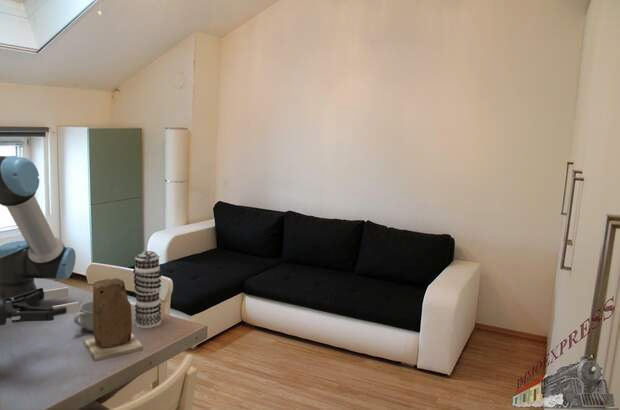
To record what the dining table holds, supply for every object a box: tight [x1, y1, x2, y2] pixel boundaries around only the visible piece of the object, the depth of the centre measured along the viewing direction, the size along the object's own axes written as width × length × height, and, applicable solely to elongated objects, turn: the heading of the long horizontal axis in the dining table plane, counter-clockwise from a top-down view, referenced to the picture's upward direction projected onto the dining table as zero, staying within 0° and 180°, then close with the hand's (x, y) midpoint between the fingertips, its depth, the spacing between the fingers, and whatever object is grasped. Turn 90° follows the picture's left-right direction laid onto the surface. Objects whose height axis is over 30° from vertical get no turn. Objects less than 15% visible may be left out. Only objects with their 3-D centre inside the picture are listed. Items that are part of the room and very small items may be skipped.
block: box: [92, 277, 133, 348], centre depth 159 cm, size 11×8×20 cm
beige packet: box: [83, 332, 144, 362], centre depth 161 cm, size 14×14×1 cm
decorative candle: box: [132, 250, 163, 329], centre depth 177 cm, size 9×9×25 cm
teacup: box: [73, 300, 93, 332], centre depth 172 cm, size 14×11×8 cm
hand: (73, 298), depth 152 cm, fingers open, 13 cm apart
